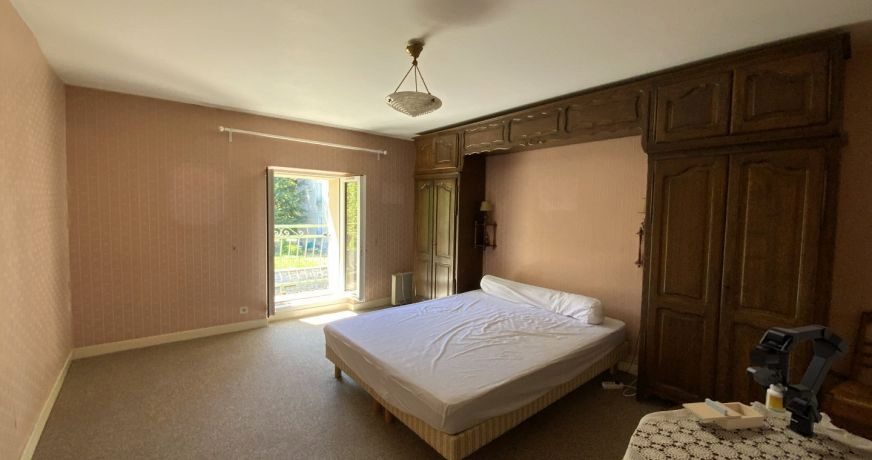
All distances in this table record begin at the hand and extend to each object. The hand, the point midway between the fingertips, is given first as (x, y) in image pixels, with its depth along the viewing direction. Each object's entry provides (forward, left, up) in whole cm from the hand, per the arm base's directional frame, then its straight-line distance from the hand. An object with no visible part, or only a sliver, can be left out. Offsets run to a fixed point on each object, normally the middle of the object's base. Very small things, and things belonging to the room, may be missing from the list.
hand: (776, 403), depth 133 cm
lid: (+17, -10, -8) cm, 21 cm away
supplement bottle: (0, 0, -3) cm, 3 cm away
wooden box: (+7, -10, -12) cm, 17 cm away
